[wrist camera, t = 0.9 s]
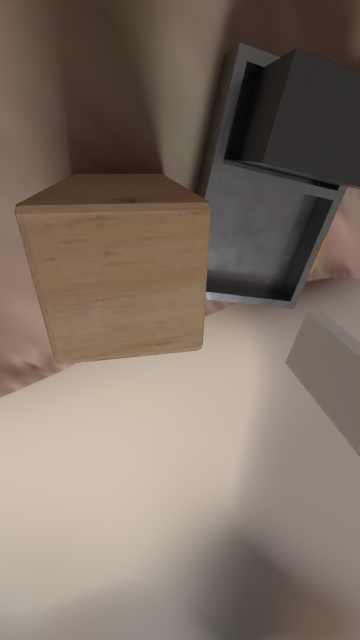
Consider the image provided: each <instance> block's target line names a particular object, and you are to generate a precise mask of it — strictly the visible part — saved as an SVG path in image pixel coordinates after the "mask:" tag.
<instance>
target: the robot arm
mask: <svg viewBox="0 0 360 640" xmlns="http://www.w3.org/2000/svg"><path fill="white" fill-rule="evenodd" d="M286 364H287V365H288V366H289V368H290V369H291V370H292V372H293V373H294V374H295V375H296V377H297V378H298V379H299V380H300V382H301V383H302V384H303V385H304V387H305V388H306V389H307V391H308V392H309V393H310V394H311V396H312V397H313V398H314V399H315V401H316V402H317V403H318V404H319V406H320V407H321V408H322V409H323V411H324V412H325V413H326V415H327V416H328V417H329V418H330V420H331V421H332V422H333V423H334V425H335V426H336V427H337V429H338V430H339V431H340V432H341V434H342V435H343V436H344V437H345V439H346V440H347V441H348V442H349V444H350V445H351V446H352V447H353V449H354V450H355V451H356V453H357V454H358V455H359V456H360V342H359V341H358V340H357V339H356V338H354V337H353V336H352V335H351V334H349V333H348V332H347V331H346V330H344V329H343V328H342V327H340V326H339V325H338V324H336V323H335V322H334V321H333V320H331V319H330V318H329V317H328V316H327V315H325V314H324V313H323V312H313V311H311V312H310V311H307V312H306V315H305V317H304V319H303V322H302V324H301V327H300V329H299V331H298V334H297V336H296V338H295V341H294V343H293V346H292V348H291V350H290V353H289V355H288V358H287V360H286Z"/></svg>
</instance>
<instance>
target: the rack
mask: <svg viewBox="0 0 360 640" xmlns="http://www.w3.org/2000/svg"><path fill="white" fill-rule="evenodd" d="M347 187H351V188H357V189H360V72H358V71H355V70H353V69H350V68H347V67H345V66H342V65H339V64H337V63H334V62H331V61H329V60H326V59H323V58H321V57H318V56H315V55H313V54H310V53H307V52H305V51H302V50H299V49H297V48H296V49H294V50H293V51H291V52H289V53H287V54H286V55H284V56H282V57H279V56H276V55H273V54H271V53H268V52H265V51H262V50H260V49H257V48H254V47H251V46H248V45H246V44H243V43H239V44H238V45H237V46H235V47H234V48H233V49H232V50H231V51H230V52H229V53H228V54H226V55H225V59H224V64H223V69H222V74H221V78H220V83H219V88H218V93H217V97H216V102H215V107H214V112H213V116H212V121H211V126H210V131H209V135H208V140H207V145H206V150H205V154H204V159H203V164H202V169H201V173H200V178H199V183H198V188H197V192H196V194H197V195H199V196H201V197H202V198H204V199H206V200H208V201H209V203H210V207H211V216H210V233H209V249H208V266H207V282H206V299H209V300H218V301H227V302H236V303H246V304H256V305H264V306H273V307H282V308H291V309H294V308H295V305H296V303H297V301H298V299H299V296H300V294H301V292H302V289H303V287H304V285H305V283H306V280H307V278H308V276H309V274H311V272H312V270H313V268H314V265H315V263H316V261H317V259H318V256H319V254H320V252H321V249H322V247H323V245H324V243H325V240H326V238H327V236H326V235H327V232H328V230H329V228H330V226H331V223H332V221H333V219H334V216H335V214H336V212H337V210H338V207H339V205H340V203H341V200H342V198H343V196H344V194H345V191H346V189H347Z"/></svg>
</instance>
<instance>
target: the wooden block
mask: <svg viewBox="0 0 360 640" xmlns="http://www.w3.org/2000/svg"><path fill="white" fill-rule="evenodd" d="M15 215H16V219H17V222H18V226H19V230H20V233H21V237H22V241H23V244H24V248H25V252H26V256H27V259H28V263H29V267H30V270H31V274H32V278H33V282H34V285H35V289H36V293H37V296H38V300H39V304H40V308H41V311H42V315H43V319H44V322H45V326H46V330H47V333H48V337H49V341H50V345H51V348H52V352H53V356H54V359H55V361H56V362H57V363H58V364H69V363H79V362H89V361H99V360H108V359H119V358H128V357H138V356H148V355H158V354H167V353H178V352H188V351H197V350H199V349H201V347H202V344H203V331H204V315H205V299H206V282H207V266H208V249H209V233H210V216H211V207H210V203H209V201H208V200H206V199H204V198H202V197H201V196H199V195H197V194H195V193H194V192H192V191H190V190H189V189H187V188H185V187H183V186H182V185H180V184H178V183H176V182H175V181H173V180H171V179H170V178H168V177H166V176H164V175H162V174H74V175H71V176H70V177H68V178H66V179H64V180H62V181H60V182H58V183H56V184H54V185H52V186H51V187H49V188H47V189H45V190H43V191H41V192H39V193H37V194H35V195H33V196H32V197H30V198H28V199H26V200H24V201H22V202H20V203H18V204H16V208H15Z"/></svg>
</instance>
